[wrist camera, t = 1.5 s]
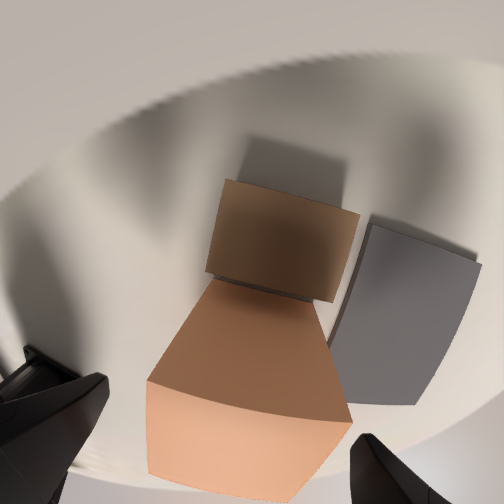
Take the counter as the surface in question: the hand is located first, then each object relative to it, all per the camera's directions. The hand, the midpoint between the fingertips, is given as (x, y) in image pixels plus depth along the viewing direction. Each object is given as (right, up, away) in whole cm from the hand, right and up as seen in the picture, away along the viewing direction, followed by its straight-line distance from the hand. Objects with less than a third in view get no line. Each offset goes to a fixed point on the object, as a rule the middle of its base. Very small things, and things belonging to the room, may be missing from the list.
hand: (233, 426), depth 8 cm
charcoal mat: (+9, +1, +6) cm, 10 cm away
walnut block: (+2, +7, +5) cm, 9 cm away
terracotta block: (+1, +1, +6) cm, 6 cm away
